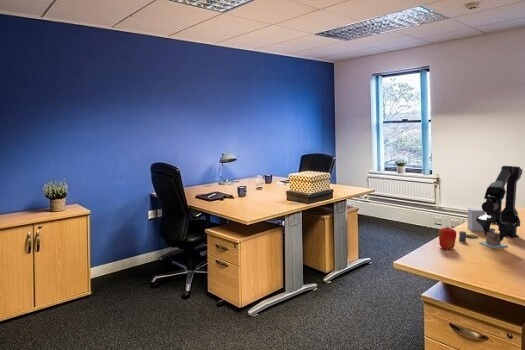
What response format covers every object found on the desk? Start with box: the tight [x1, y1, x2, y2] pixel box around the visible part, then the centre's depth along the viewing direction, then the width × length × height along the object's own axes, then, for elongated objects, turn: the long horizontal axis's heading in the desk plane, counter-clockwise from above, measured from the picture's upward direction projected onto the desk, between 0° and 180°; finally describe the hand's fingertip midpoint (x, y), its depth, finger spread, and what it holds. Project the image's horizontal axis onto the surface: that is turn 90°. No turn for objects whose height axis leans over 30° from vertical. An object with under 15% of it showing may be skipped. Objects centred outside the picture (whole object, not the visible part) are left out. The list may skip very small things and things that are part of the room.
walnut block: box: [485, 231, 501, 246], centre depth 198 cm, size 4×4×6 cm
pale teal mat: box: [478, 241, 508, 249], centre depth 198 cm, size 9×9×1 cm
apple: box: [438, 226, 457, 250], centre depth 195 cm, size 9×8×12 cm
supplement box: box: [467, 207, 486, 232], centre depth 227 cm, size 7×7×13 cm
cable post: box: [458, 230, 467, 243], centre depth 207 cm, size 3×3×5 cm
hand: (493, 238), depth 198 cm, fingers open, 9 cm apart
